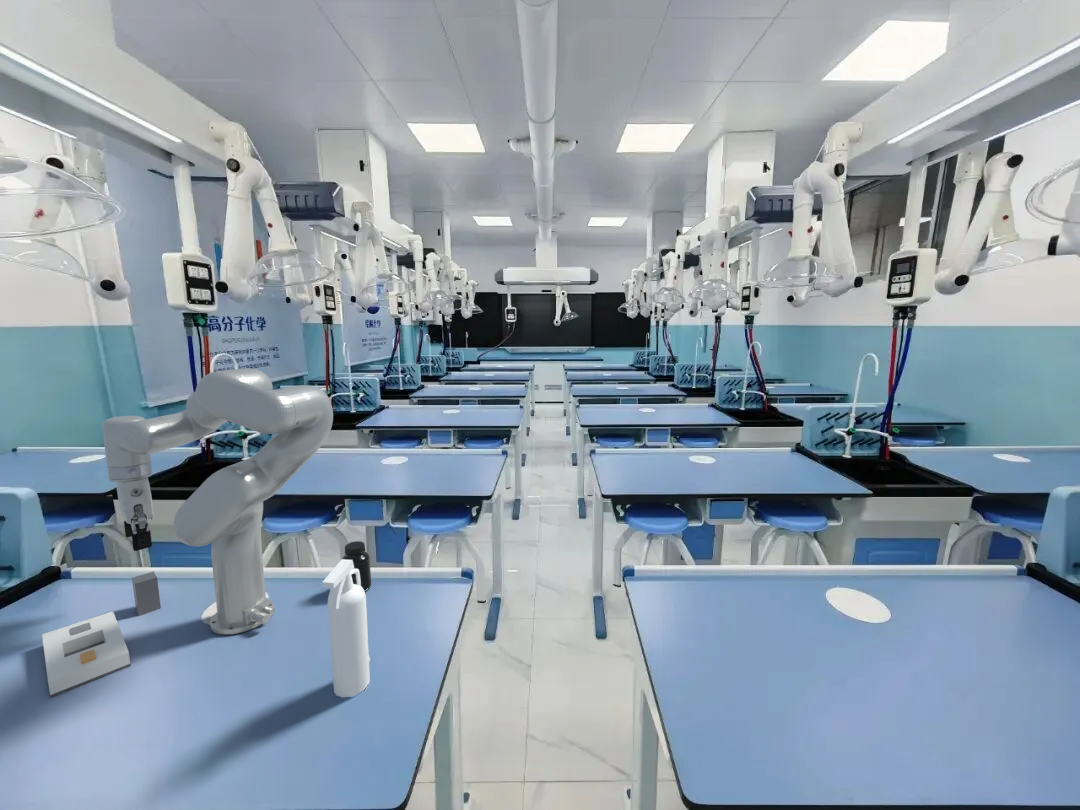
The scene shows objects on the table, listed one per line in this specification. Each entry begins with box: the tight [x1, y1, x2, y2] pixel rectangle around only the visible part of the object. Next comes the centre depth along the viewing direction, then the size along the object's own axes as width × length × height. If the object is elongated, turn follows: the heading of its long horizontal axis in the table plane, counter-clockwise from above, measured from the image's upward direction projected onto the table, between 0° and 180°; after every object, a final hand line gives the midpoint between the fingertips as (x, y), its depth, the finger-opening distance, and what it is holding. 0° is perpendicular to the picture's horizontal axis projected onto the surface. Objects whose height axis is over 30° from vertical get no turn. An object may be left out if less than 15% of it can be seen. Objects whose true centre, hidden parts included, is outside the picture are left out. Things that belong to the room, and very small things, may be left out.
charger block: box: [131, 571, 162, 617], centre depth 111 cm, size 4×4×8 cm
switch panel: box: [41, 611, 131, 698], centre depth 95 cm, size 20×11×4 cm, turn 48°
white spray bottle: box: [321, 558, 371, 697], centre depth 87 cm, size 7×12×25 cm, turn 173°
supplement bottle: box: [341, 540, 372, 590], centre depth 120 cm, size 7×7×12 cm
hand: (138, 541), depth 109 cm, fingers open, 9 cm apart
